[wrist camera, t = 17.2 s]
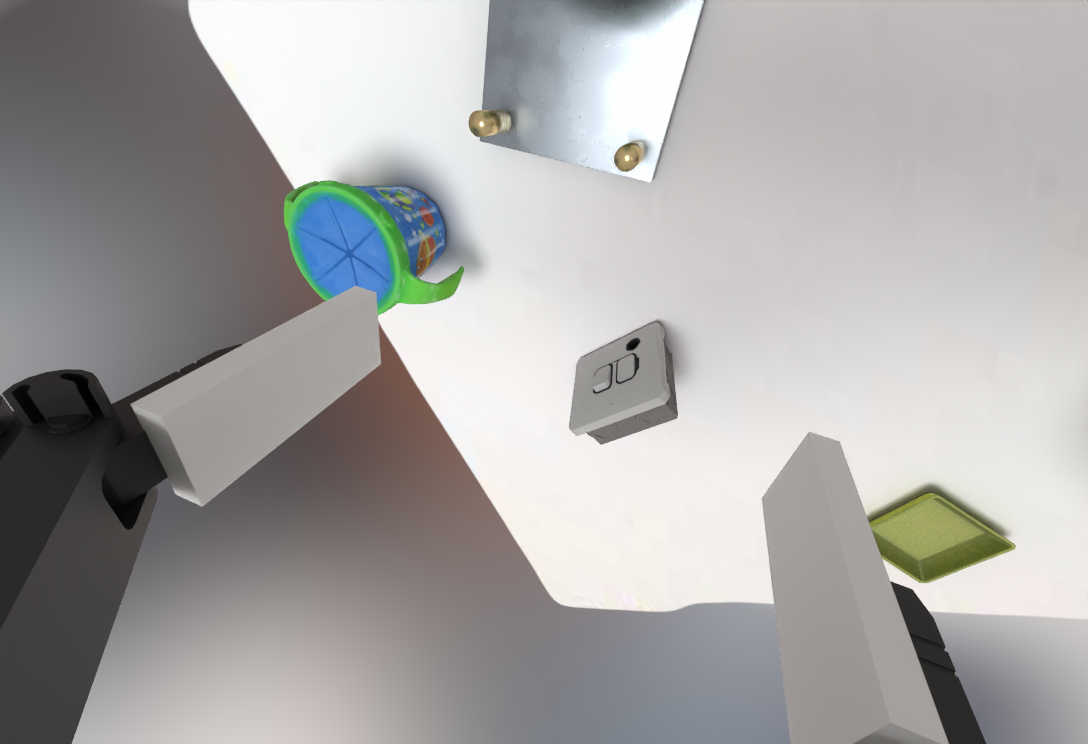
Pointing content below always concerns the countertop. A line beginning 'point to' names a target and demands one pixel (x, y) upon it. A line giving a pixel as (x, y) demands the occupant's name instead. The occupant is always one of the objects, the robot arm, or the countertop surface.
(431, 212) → the snack cup
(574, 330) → the countertop surface
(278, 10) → the countertop surface
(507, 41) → the post plate
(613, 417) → the electrical switch
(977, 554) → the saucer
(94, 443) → the robot arm
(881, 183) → the countertop surface
